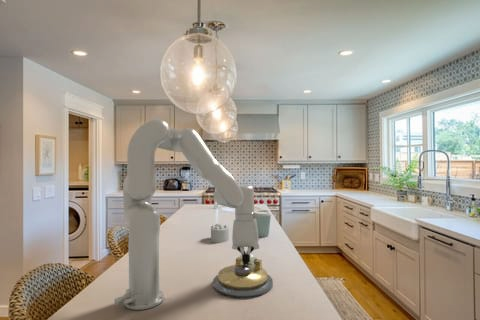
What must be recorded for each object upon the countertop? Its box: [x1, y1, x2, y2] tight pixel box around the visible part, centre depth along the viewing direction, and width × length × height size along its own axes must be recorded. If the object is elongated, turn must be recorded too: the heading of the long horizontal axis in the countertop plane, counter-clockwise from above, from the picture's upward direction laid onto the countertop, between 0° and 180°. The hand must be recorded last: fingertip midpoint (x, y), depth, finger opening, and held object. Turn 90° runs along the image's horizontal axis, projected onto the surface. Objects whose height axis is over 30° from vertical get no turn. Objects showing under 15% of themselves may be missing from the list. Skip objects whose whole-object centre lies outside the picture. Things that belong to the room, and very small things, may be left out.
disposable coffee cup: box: [254, 209, 272, 238], centre depth 178 cm, size 11×11×15 cm
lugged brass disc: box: [217, 256, 268, 291], centre depth 108 cm, size 18×18×6 cm
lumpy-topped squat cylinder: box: [210, 223, 230, 244], centre depth 170 cm, size 10×13×9 cm
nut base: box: [212, 273, 274, 299], centre depth 108 cm, size 22×22×3 cm
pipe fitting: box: [239, 253, 258, 266], centre depth 131 cm, size 8×4×7 cm
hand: (246, 263), depth 114 cm, fingers closed
